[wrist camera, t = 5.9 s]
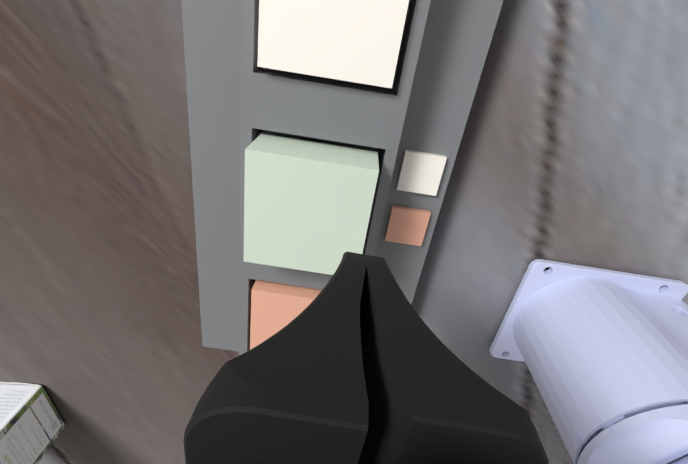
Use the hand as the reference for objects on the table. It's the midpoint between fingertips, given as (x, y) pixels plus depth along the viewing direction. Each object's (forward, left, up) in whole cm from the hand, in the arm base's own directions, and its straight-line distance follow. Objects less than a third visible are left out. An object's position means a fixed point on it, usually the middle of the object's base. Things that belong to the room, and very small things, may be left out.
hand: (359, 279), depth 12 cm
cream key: (+2, -8, -8) cm, 11 cm away
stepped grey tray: (+2, 0, -9) cm, 9 cm away
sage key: (+2, 0, -6) cm, 6 cm away
